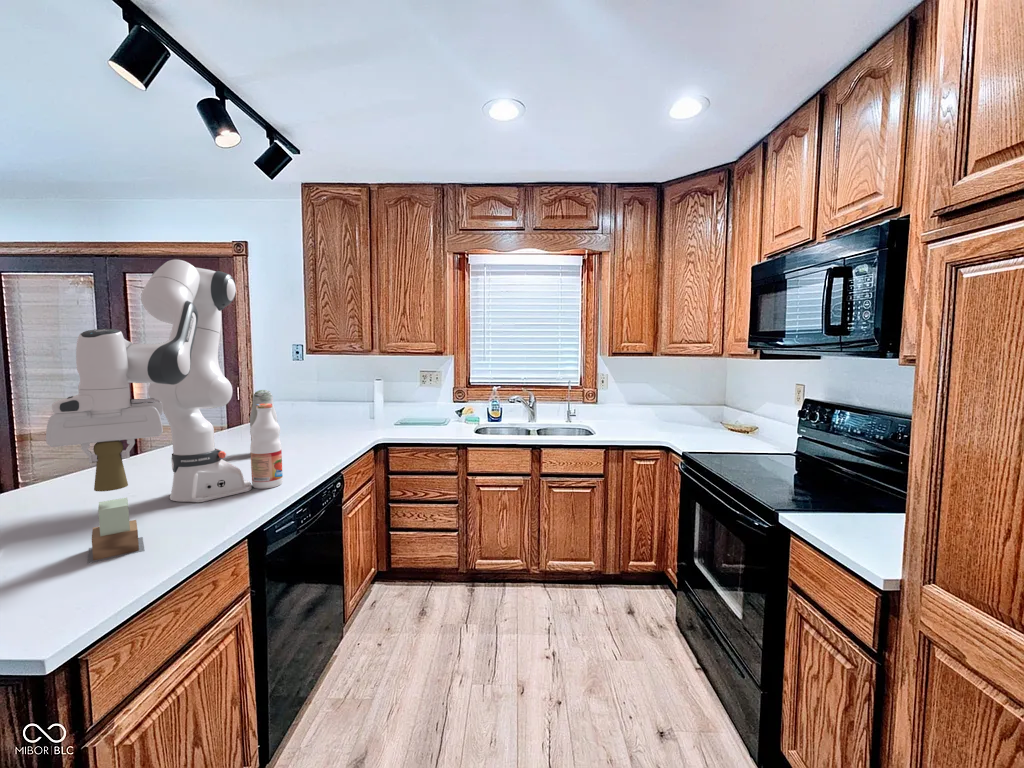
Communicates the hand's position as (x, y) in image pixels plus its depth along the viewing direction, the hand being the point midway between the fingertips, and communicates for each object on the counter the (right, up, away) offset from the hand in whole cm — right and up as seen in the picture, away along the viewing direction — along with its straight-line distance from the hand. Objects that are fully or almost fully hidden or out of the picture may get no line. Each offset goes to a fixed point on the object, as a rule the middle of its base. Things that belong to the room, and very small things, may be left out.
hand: (109, 460), depth 109 cm
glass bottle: (-15, -13, +97) cm, 99 cm away
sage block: (0, -16, +2) cm, 16 cm away
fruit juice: (+9, -17, +54) cm, 57 cm away
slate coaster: (0, -22, +2) cm, 22 cm away
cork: (0, -7, +1) cm, 7 cm away
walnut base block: (0, -21, +2) cm, 21 cm away
